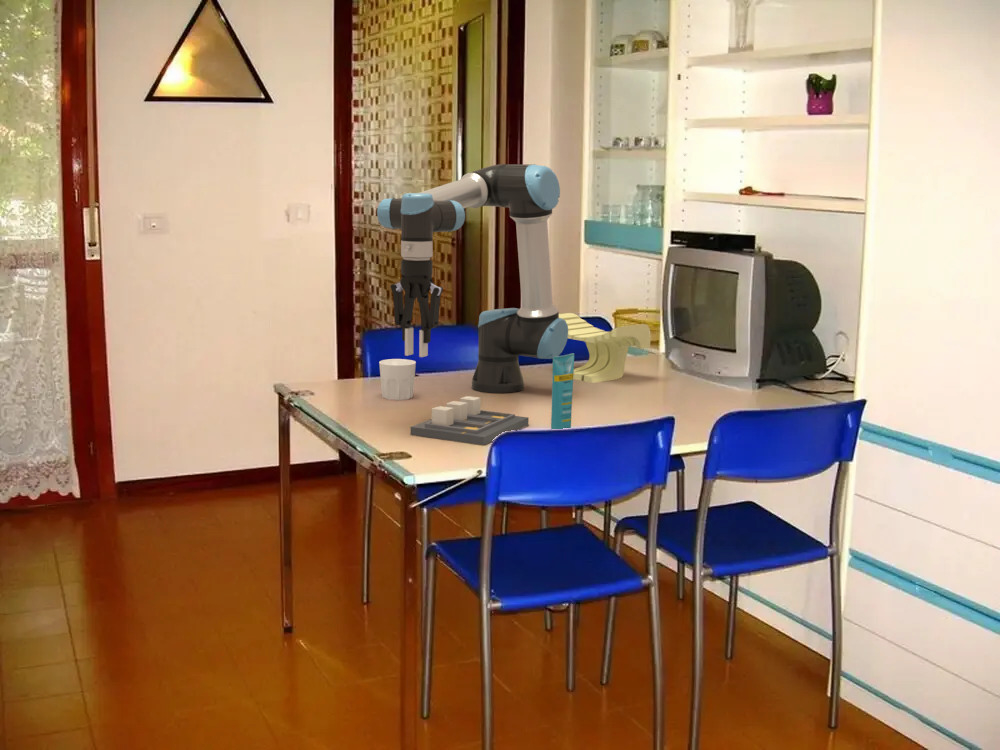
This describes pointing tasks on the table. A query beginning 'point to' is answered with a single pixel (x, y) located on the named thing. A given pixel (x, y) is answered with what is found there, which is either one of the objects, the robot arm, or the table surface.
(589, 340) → the slatted curved stool
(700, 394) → the table surface
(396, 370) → the cup
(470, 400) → the tab far
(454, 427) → the switch board
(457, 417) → the tab mid
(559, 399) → the tube
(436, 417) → the white cube
